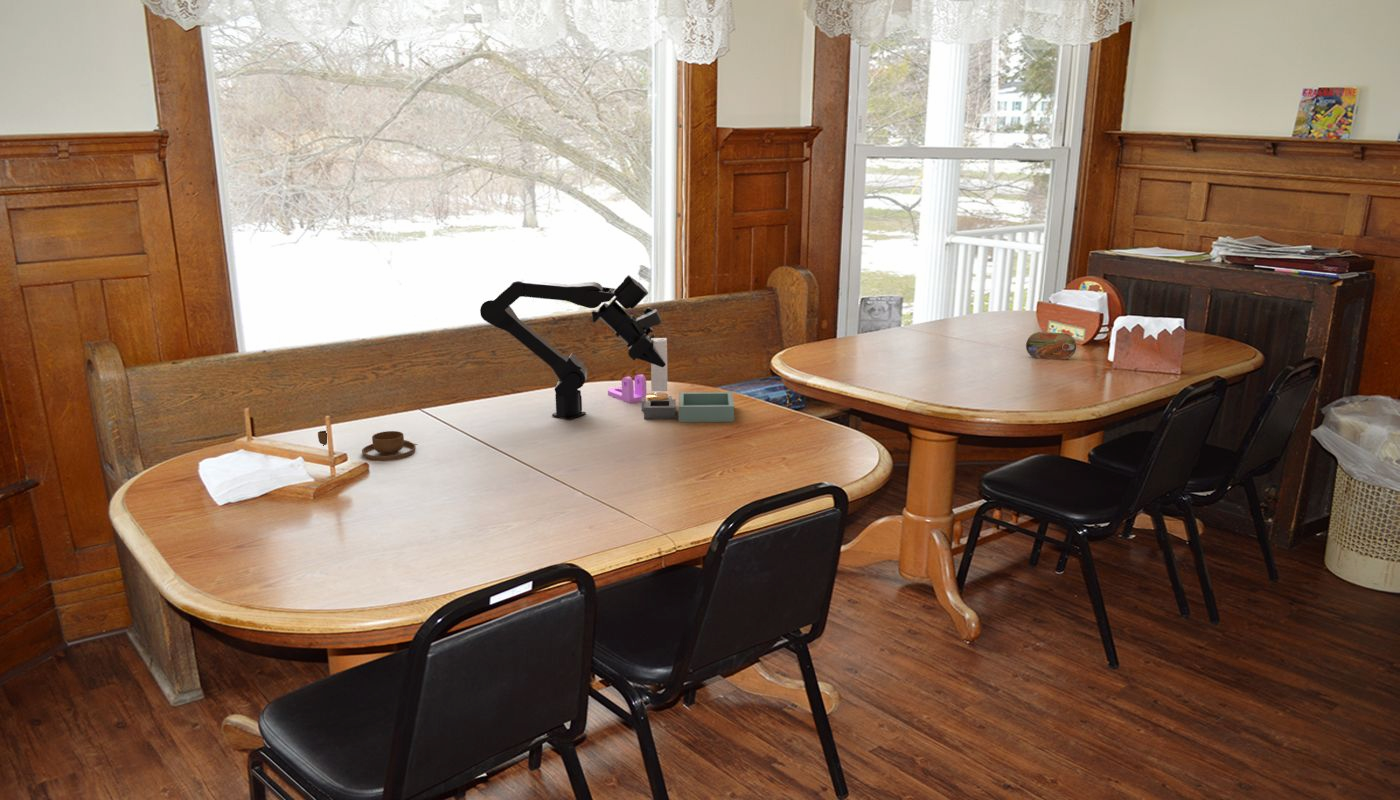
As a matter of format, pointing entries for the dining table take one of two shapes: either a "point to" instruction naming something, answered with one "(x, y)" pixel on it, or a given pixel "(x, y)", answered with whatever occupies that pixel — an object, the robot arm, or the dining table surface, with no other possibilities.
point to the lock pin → (656, 371)
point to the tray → (706, 407)
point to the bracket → (630, 389)
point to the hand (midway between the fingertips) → (664, 364)
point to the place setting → (382, 445)
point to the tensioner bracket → (658, 406)
